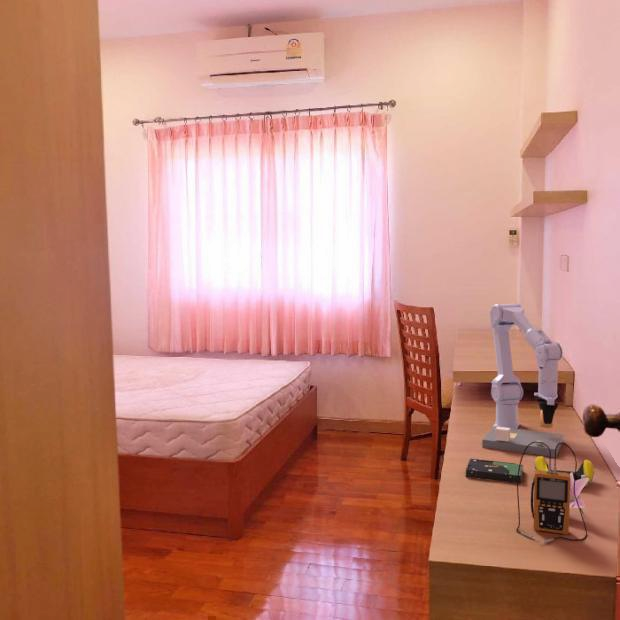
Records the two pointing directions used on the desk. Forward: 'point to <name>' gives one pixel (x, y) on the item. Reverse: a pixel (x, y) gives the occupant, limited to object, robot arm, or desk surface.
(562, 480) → the multimeter
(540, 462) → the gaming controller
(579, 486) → the lily
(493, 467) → the disk drive
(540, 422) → the cap
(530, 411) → the desk surface
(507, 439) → the lever
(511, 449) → the panel
